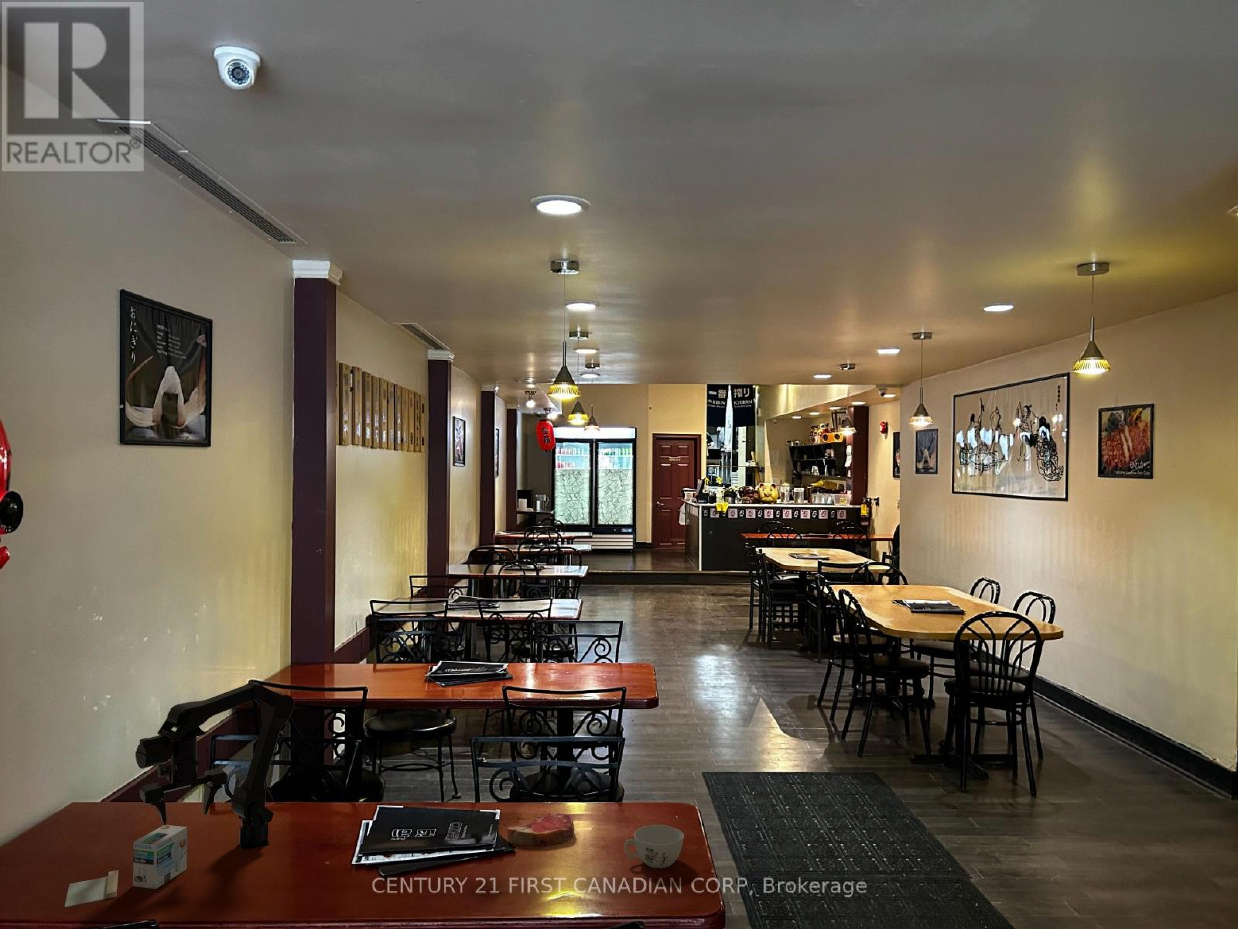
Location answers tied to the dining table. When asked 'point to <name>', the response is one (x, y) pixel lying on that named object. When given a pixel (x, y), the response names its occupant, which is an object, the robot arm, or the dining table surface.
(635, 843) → the teacup
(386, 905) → the dining table surface
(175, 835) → the light bulb box
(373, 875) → the dining table surface
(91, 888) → the gray and beige tray
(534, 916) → the dining table surface
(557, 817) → the steak
